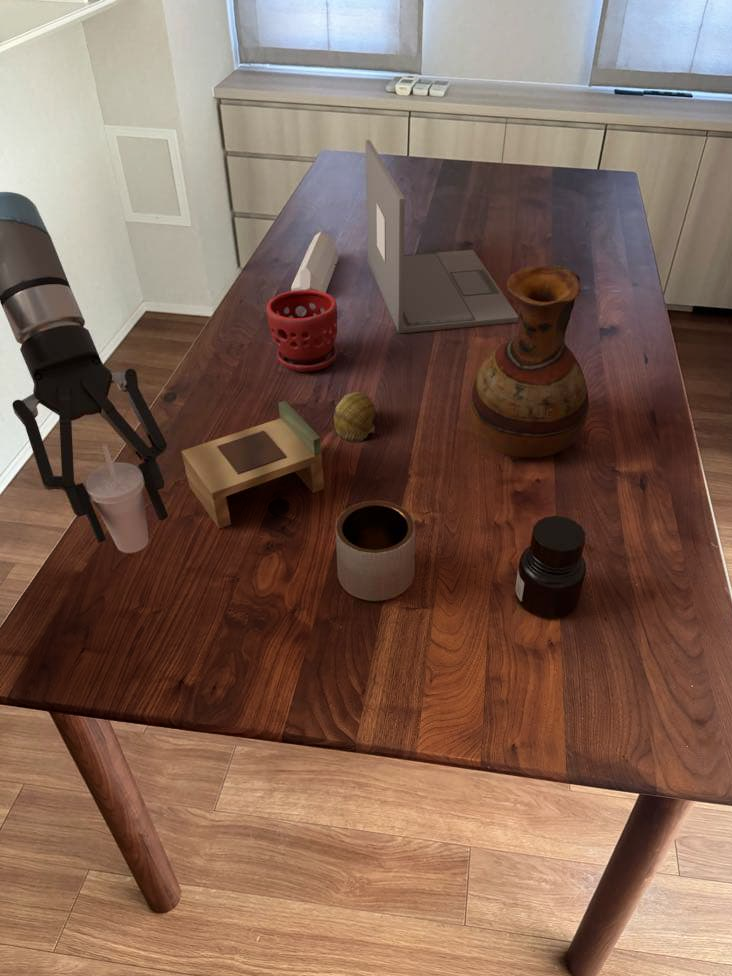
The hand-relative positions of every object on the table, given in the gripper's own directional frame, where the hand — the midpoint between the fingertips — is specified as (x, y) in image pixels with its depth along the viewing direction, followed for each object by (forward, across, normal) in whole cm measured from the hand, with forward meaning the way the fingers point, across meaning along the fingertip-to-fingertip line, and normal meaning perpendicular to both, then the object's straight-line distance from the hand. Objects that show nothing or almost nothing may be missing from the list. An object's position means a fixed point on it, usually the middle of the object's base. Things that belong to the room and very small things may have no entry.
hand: (133, 528), depth 89 cm
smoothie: (+1, 0, -6) cm, 6 cm away
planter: (+17, -29, -12) cm, 36 cm away
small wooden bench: (-2, -23, -31) cm, 39 cm away
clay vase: (+6, -69, -24) cm, 73 cm away
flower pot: (-24, -48, -53) cm, 76 cm away
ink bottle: (+28, -48, -1) cm, 55 cm away
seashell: (-6, -45, -36) cm, 58 cm away
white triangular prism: (-46, -66, -75) cm, 110 cm away
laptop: (-32, -87, -61) cm, 111 cm away
